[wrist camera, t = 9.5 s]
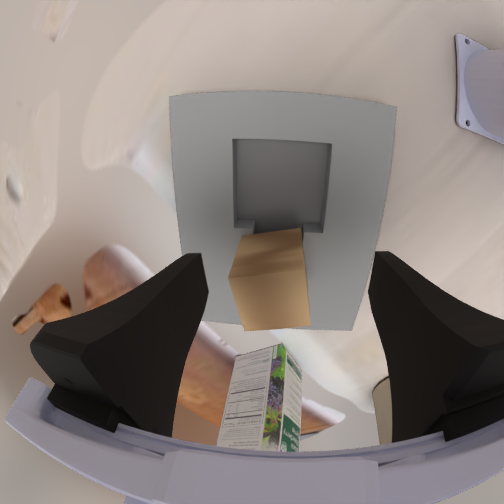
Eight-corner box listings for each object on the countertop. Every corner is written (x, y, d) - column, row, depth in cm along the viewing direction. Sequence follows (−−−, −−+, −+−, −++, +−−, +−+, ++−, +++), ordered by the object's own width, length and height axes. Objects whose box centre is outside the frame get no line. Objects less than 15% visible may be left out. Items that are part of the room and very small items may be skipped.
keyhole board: (385, 106, 15) (396, 106, 13) (348, 315, 24) (351, 330, 22) (180, 96, 16) (169, 96, 14) (198, 305, 25) (192, 319, 23)
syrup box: (303, 370, 28) (300, 491, 16) (258, 381, 30) (242, 492, 18) (282, 341, 26) (271, 482, 14) (232, 355, 28) (205, 480, 16)
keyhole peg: (299, 219, 19) (304, 269, 14) (306, 266, 21) (310, 325, 15) (244, 226, 20) (227, 278, 14) (255, 272, 22) (244, 331, 16)
